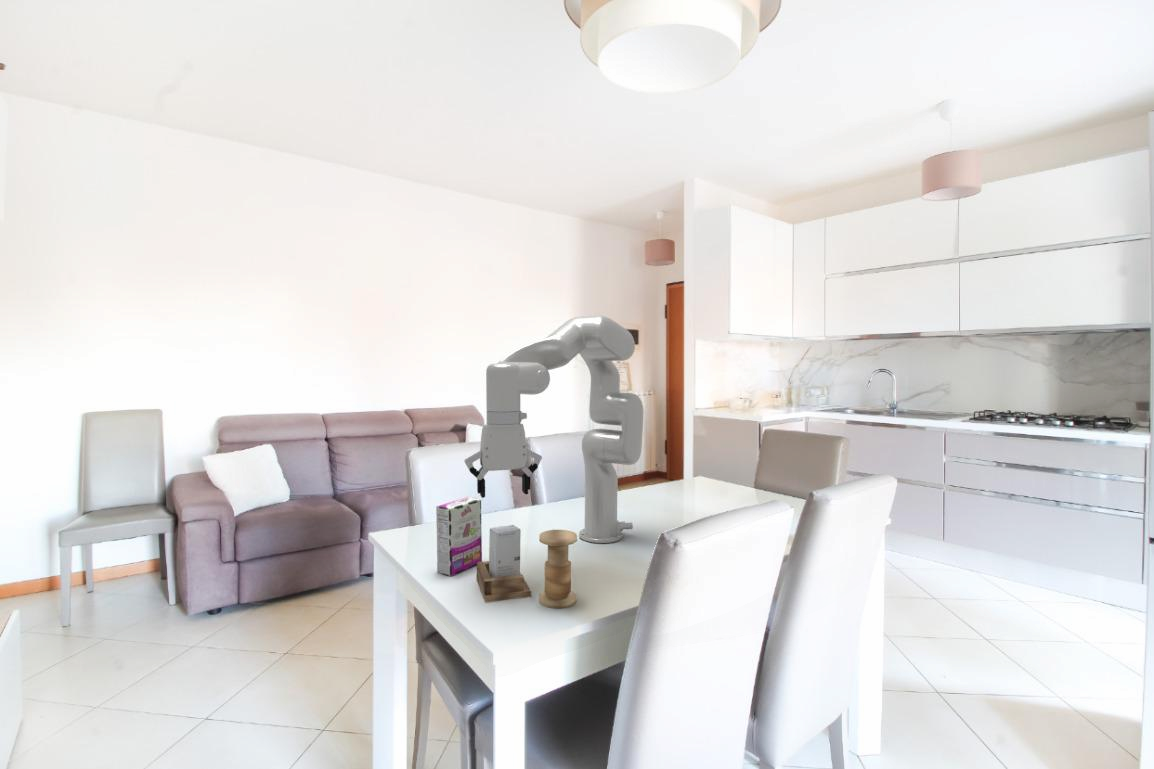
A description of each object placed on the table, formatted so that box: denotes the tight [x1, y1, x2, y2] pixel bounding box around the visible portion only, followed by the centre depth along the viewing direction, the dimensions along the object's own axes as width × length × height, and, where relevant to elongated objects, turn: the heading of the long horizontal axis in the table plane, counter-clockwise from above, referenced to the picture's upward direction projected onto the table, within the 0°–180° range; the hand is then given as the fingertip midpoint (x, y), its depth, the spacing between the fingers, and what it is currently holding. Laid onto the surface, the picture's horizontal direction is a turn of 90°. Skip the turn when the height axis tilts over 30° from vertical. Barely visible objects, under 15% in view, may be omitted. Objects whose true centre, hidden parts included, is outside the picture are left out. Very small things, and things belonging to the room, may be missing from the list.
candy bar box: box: [435, 496, 483, 577], centre depth 136 cm, size 11×5×16 cm, turn 148°
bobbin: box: [538, 529, 578, 609], centre depth 118 cm, size 8×8×14 cm
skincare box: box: [488, 524, 522, 578], centre depth 124 cm, size 6×4×12 cm
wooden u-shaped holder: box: [476, 560, 532, 603], centre depth 124 cm, size 10×13×4 cm
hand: (504, 494), depth 124 cm, fingers open, 9 cm apart
